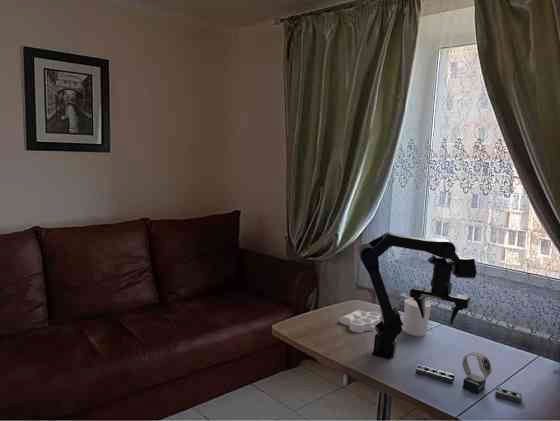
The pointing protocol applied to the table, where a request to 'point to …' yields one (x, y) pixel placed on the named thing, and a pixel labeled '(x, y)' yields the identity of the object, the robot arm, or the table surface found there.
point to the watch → (473, 381)
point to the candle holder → (415, 318)
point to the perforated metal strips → (449, 378)
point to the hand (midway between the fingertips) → (437, 321)
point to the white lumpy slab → (361, 320)
